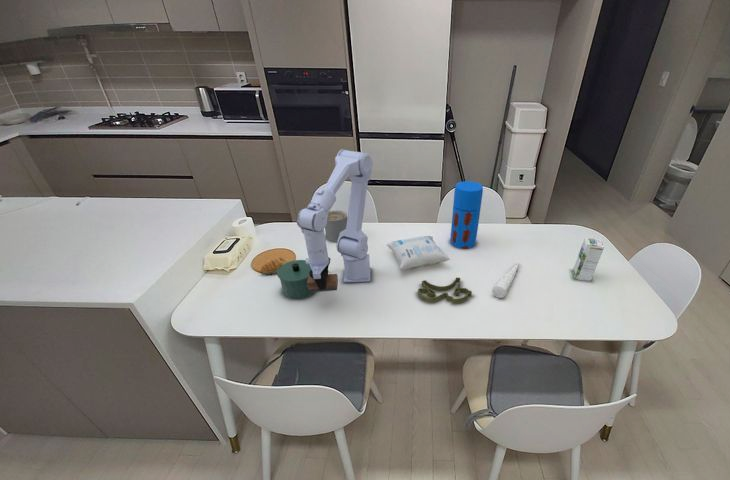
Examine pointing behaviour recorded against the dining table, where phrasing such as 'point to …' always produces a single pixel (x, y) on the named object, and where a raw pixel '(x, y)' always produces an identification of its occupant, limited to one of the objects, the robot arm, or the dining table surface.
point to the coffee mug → (335, 224)
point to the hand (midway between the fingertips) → (323, 284)
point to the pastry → (273, 266)
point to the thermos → (466, 214)
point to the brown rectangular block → (330, 284)
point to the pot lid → (294, 271)
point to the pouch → (417, 252)
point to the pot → (296, 289)
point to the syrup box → (588, 259)
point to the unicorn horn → (504, 283)
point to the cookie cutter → (431, 293)
